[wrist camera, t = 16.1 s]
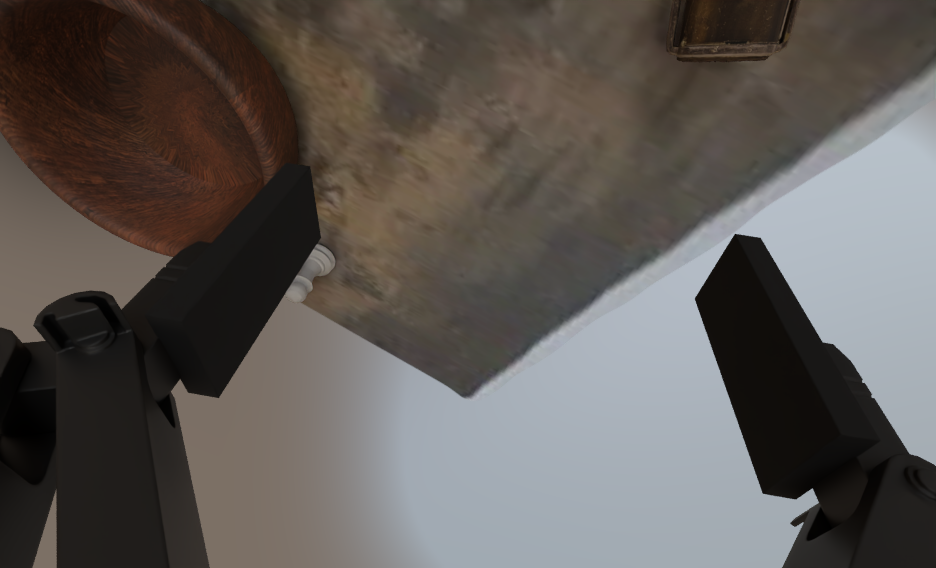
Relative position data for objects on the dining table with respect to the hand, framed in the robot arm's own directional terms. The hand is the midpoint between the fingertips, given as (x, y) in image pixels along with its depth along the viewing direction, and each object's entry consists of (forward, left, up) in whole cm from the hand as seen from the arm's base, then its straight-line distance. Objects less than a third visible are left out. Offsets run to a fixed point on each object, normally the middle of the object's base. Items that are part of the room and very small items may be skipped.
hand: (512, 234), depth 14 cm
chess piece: (+22, +30, -31) cm, 48 cm away
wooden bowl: (+32, +12, -31) cm, 46 cm away
